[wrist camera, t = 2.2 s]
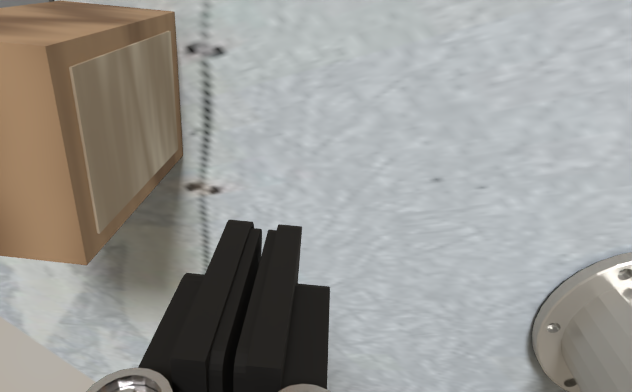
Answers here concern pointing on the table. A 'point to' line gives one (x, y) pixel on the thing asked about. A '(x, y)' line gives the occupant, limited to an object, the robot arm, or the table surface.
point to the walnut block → (82, 123)
